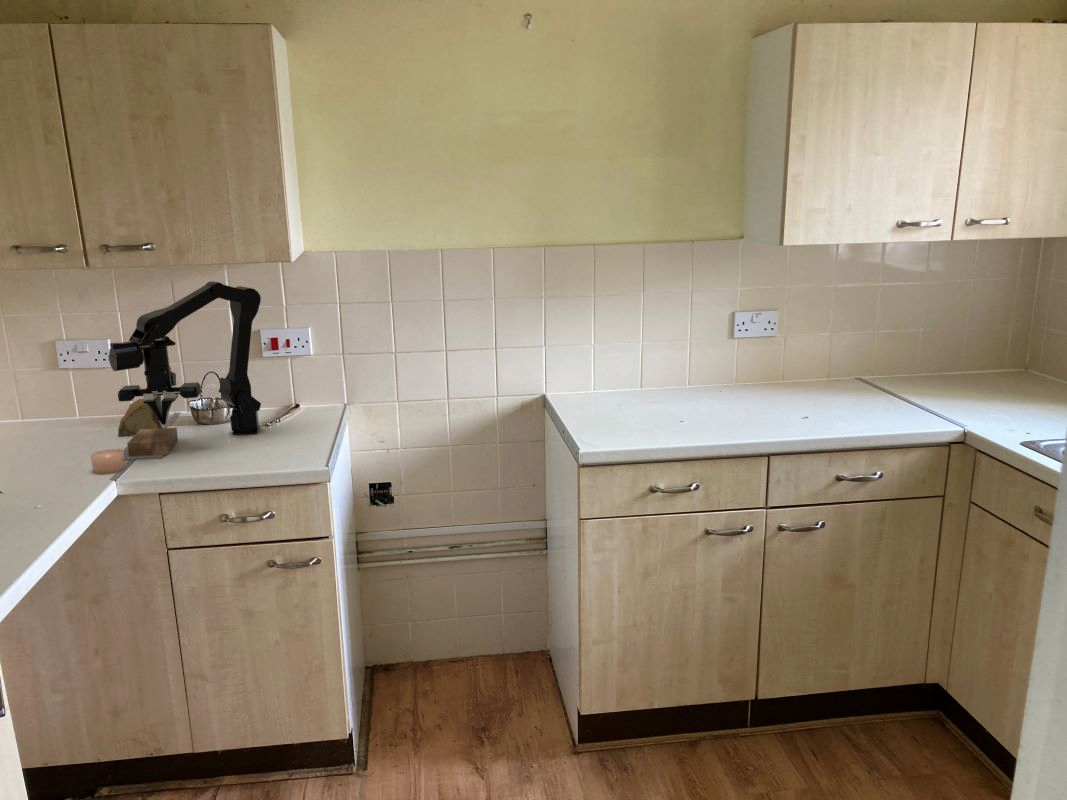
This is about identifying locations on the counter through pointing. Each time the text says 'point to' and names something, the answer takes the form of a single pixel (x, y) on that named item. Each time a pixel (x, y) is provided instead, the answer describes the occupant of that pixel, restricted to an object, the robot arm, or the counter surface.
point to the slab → (152, 442)
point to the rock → (138, 419)
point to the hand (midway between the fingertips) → (164, 424)
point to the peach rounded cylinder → (108, 461)
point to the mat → (126, 456)
